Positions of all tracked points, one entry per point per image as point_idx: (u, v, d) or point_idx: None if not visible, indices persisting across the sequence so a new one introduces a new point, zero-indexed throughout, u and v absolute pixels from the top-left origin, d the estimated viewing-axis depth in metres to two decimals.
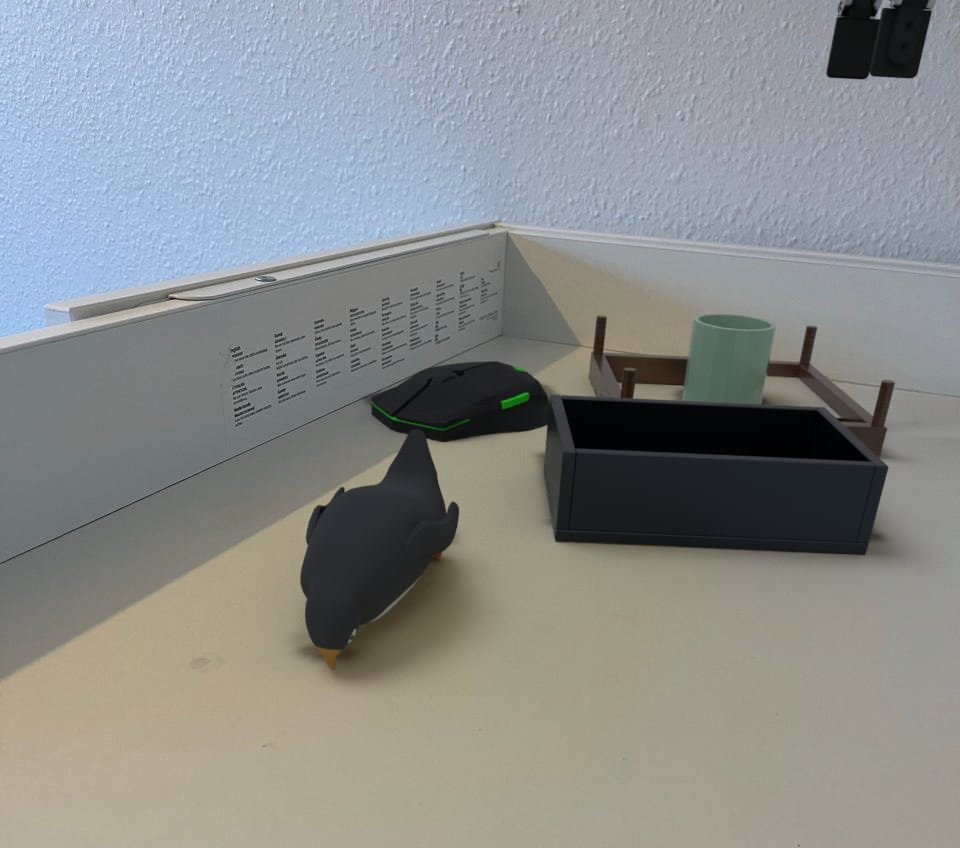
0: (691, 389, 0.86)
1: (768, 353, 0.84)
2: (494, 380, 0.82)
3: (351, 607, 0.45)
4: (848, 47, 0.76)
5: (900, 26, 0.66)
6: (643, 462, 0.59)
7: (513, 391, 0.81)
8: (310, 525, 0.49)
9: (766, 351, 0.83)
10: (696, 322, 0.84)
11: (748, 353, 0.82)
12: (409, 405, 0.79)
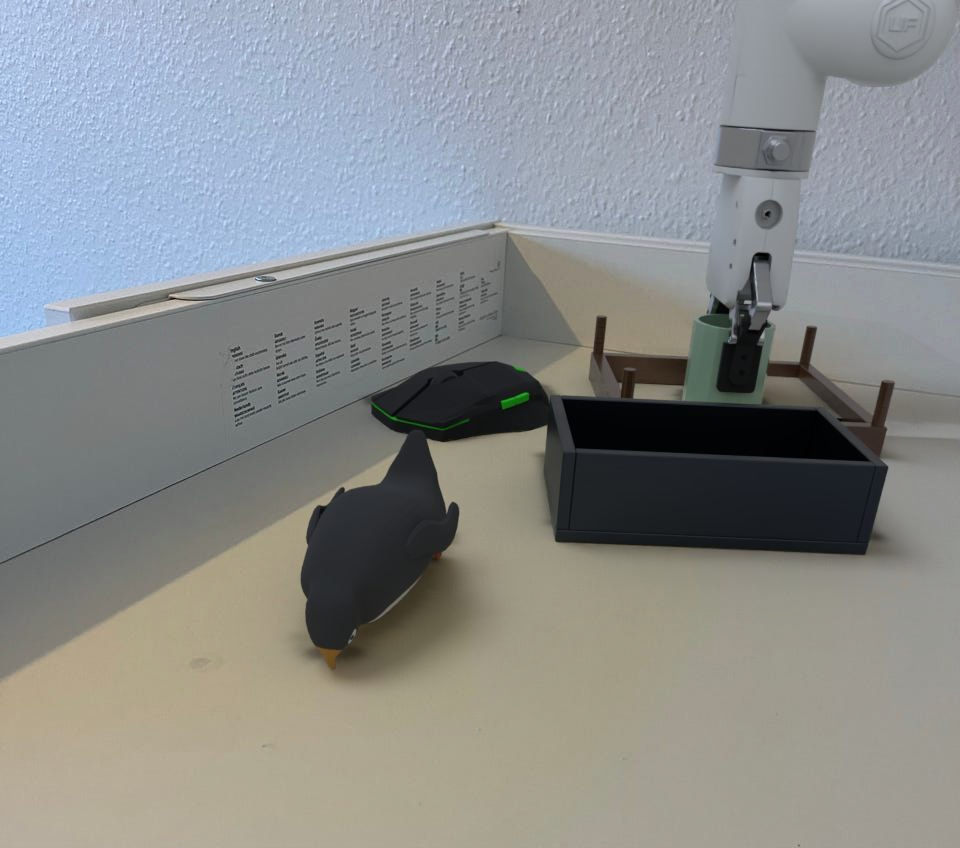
0: (691, 389, 0.86)
1: (768, 353, 0.84)
2: (494, 380, 0.82)
3: (351, 607, 0.45)
4: None
5: (737, 358, 0.81)
6: (643, 462, 0.59)
7: (513, 391, 0.81)
8: (310, 525, 0.49)
9: (766, 351, 0.83)
10: (696, 322, 0.84)
11: None
12: (409, 405, 0.79)
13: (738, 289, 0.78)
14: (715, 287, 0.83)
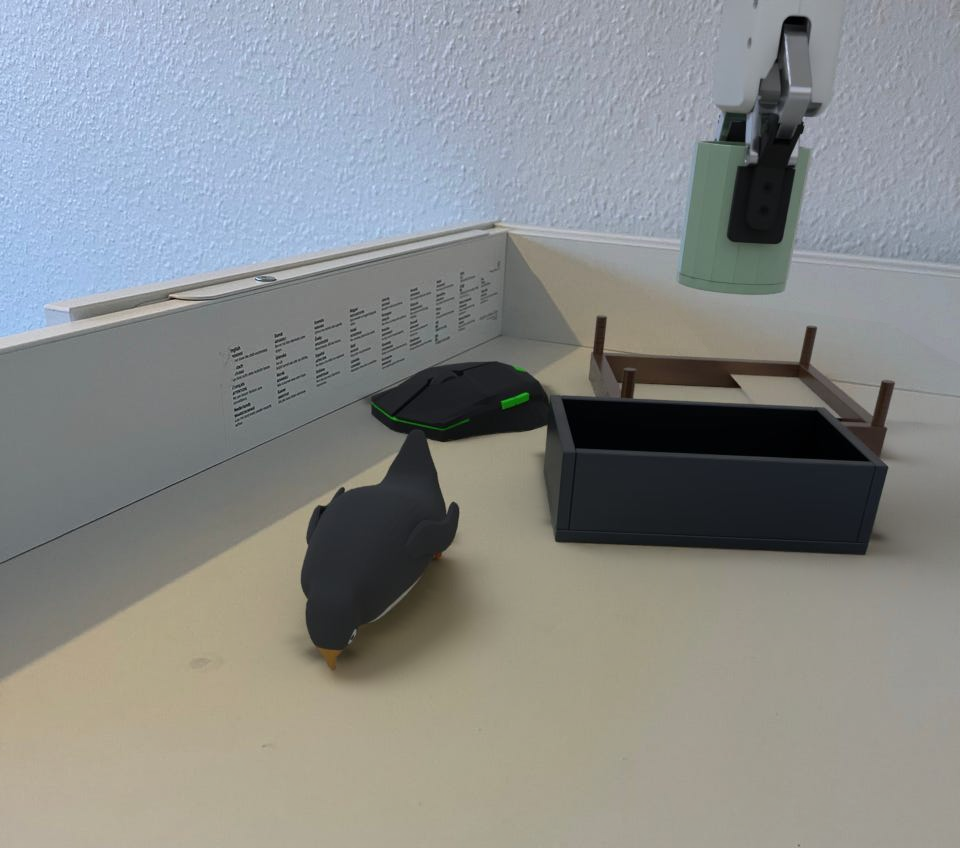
0: (690, 245, 0.60)
1: (801, 188, 0.58)
2: (494, 380, 0.82)
3: (351, 607, 0.45)
4: None
5: (757, 188, 0.56)
6: (643, 462, 0.59)
7: (513, 391, 0.81)
8: (310, 525, 0.49)
9: (798, 184, 0.58)
10: (698, 144, 0.58)
11: None
12: (409, 405, 0.79)
13: (760, 76, 0.53)
14: (726, 90, 0.57)
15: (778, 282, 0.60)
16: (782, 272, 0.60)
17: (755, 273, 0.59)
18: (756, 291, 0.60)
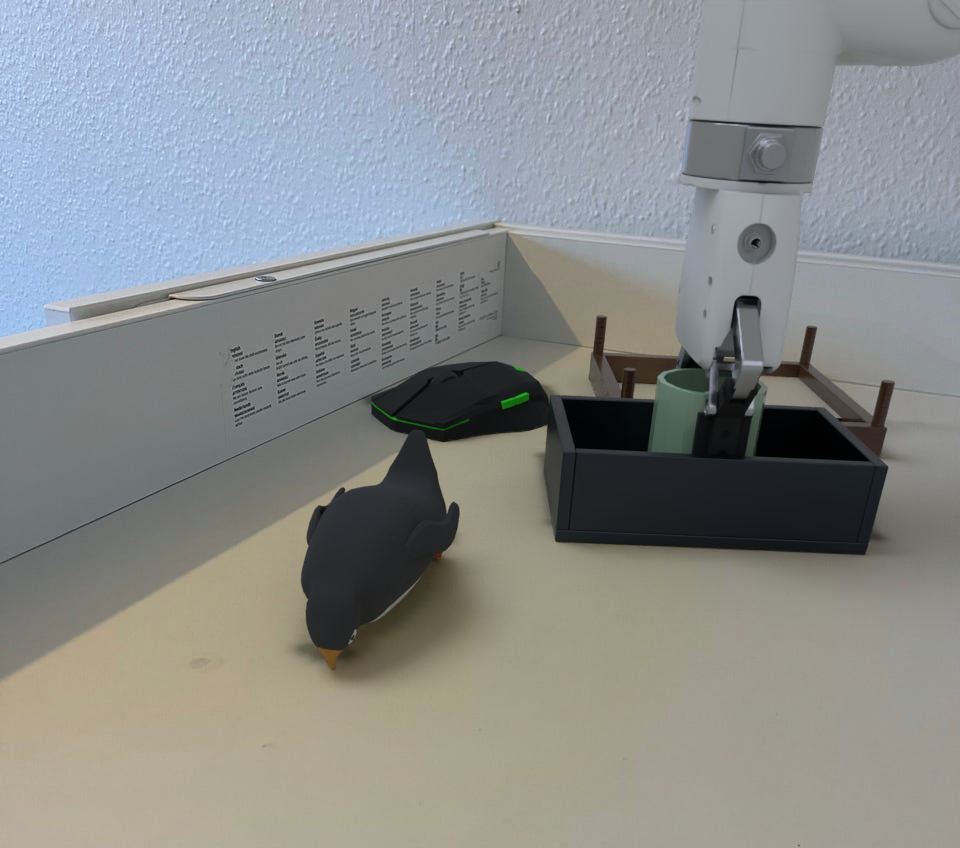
0: None
1: (757, 424, 0.62)
2: (494, 380, 0.82)
3: (352, 607, 0.45)
4: None
5: (716, 435, 0.59)
6: (643, 462, 0.59)
7: (513, 391, 0.81)
8: (311, 525, 0.49)
9: (754, 422, 0.62)
10: (660, 382, 0.62)
11: None
12: (409, 405, 0.79)
13: (716, 341, 0.57)
14: (686, 338, 0.61)
15: None
16: None
17: None
18: None
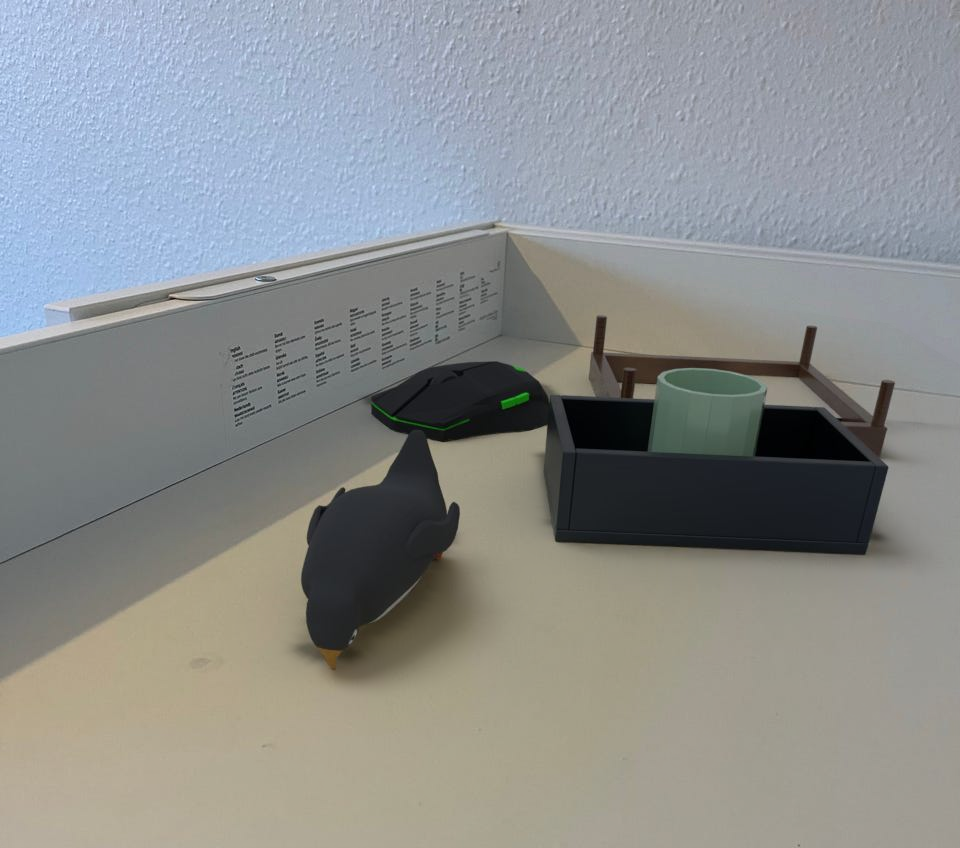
0: None
1: (757, 424, 0.62)
2: (494, 380, 0.82)
3: (352, 608, 0.45)
4: None
5: None
6: (643, 462, 0.59)
7: (513, 391, 0.81)
8: (311, 525, 0.49)
9: (754, 422, 0.62)
10: (660, 382, 0.62)
11: (730, 426, 0.61)
12: (409, 405, 0.79)
13: None
14: None
15: None
16: None
17: None
18: None
